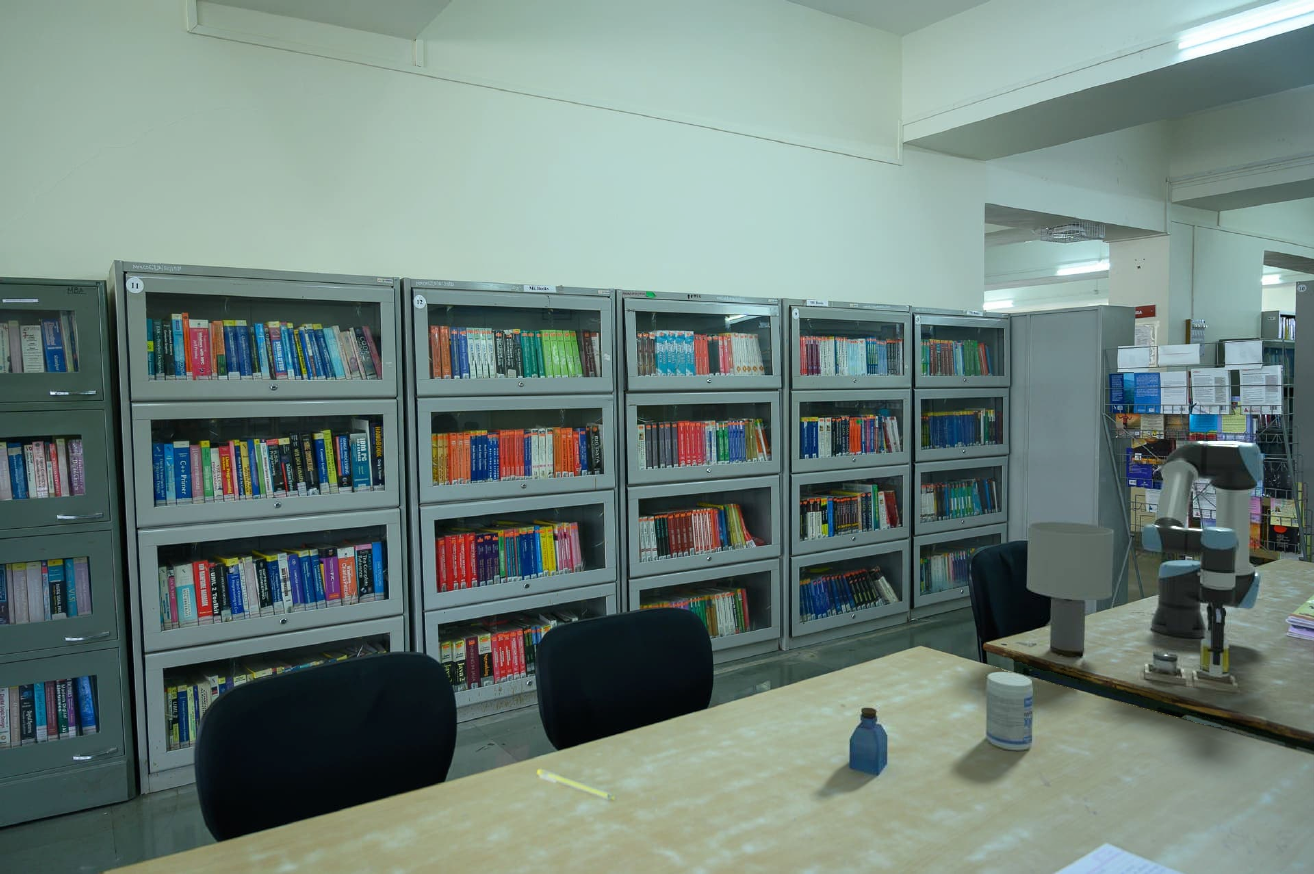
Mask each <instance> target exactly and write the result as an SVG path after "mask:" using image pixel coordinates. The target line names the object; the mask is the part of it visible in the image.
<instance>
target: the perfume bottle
mask: <svg viewBox="0 0 1314 874" xmlns="http://www.w3.org/2000/svg"><path fill="white" fill-rule="evenodd" d="M860 711H861V714H860V722H859V724H858V725H857V726H856V727H855V729H854V731H853V733H852V734H851V736H850V738H849V749H848V750H849V754H848V755H849V763H848V764H849V765H848V766H849V767H848V768H849V769H852V770H855V771H858V772H862V773H867V774H871V775H874V776H878V777H879V775H881V773H882V772H883V770H884V769H885V767H886V766H887V764H888V734H887V732H886V731H885V728H884V727H883V726H882V723H881V724H880V723H878V716H877V709H875V708H873V707H862V708H861V709H860Z"/></svg>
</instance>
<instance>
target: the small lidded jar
mask: <svg viewBox="0 0 1314 874" xmlns="http://www.w3.org/2000/svg"><path fill="white" fill-rule="evenodd" d="M1178 656H1179V655H1177V654H1175V653H1173V652H1169V651H1161V650H1160V651H1159V650H1158V651H1153V652H1152V664H1153V673H1157V674H1164V675H1170V676H1177V667H1178V659H1179V657H1178Z"/></svg>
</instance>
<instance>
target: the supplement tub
mask: <svg viewBox="0 0 1314 874" xmlns="http://www.w3.org/2000/svg"><path fill="white" fill-rule="evenodd" d="M1033 689H1034V688H1033V680H1032V679H1030V678H1029V677H1027V676H1025V675H1022V674H1019V673H1015V672H1008V671H997V672H996V671H995V672H994V671H993V672H991V673H989V674H987V679H986V694H985V695H986V702H985V703H986V705H985V706H986V707H985V709H986V710H985V711H986V713H985V714H986V715H985V717H986V718H985V737H986V740H987V741H988V742H989V743H990V744H991V745H993V746H995V747H997V748H1000V749H1003V750H1008V751H1024V750H1029V748H1031V747H1032V744H1033V710H1034V709H1033V707H1034V706H1033V703H1034V701H1033V700H1034V699H1033V697H1034V695H1033V693H1034V692H1033V691H1034V690H1033Z"/></svg>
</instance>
